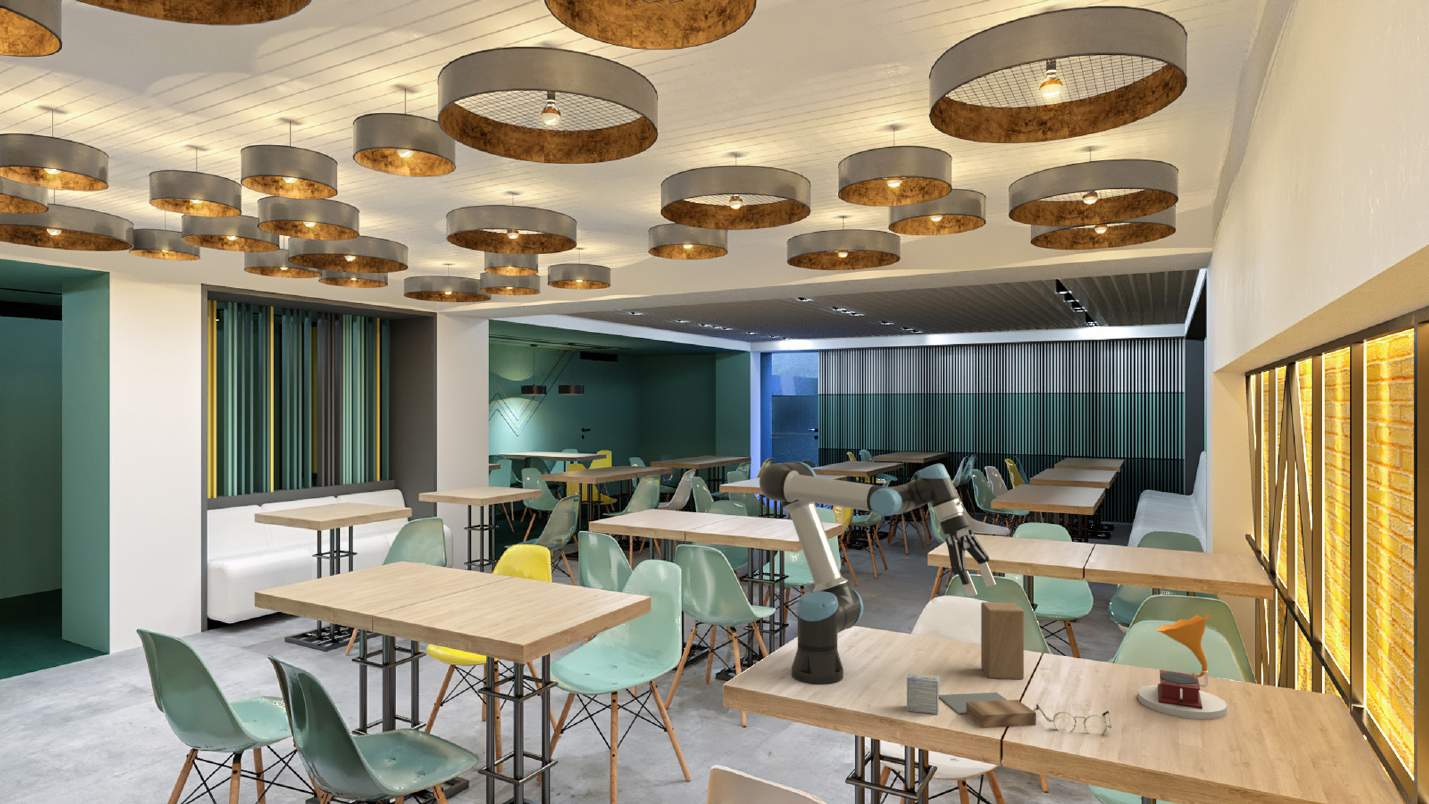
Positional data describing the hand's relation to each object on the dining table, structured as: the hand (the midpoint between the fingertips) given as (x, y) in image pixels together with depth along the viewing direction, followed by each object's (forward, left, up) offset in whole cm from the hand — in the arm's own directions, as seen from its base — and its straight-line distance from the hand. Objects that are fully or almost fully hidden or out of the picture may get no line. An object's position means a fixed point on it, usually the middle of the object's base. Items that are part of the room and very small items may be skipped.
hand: (982, 590), depth 222 cm
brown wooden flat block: (-4, -18, -28) cm, 34 cm away
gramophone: (+49, -14, -29) cm, 59 cm away
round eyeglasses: (+14, -21, -29) cm, 39 cm away
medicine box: (-21, -9, -29) cm, 37 cm away
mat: (-4, -7, -28) cm, 29 cm away
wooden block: (+14, +16, -29) cm, 36 cm away
